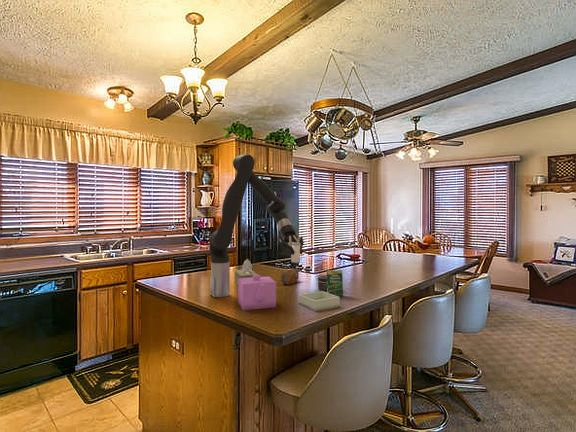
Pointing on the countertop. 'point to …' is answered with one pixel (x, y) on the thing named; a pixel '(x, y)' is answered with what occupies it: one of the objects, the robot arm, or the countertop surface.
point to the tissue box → (244, 271)
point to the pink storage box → (256, 292)
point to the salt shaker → (296, 248)
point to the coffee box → (335, 283)
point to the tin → (289, 276)
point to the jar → (322, 283)
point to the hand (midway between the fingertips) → (297, 253)
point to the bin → (318, 300)
